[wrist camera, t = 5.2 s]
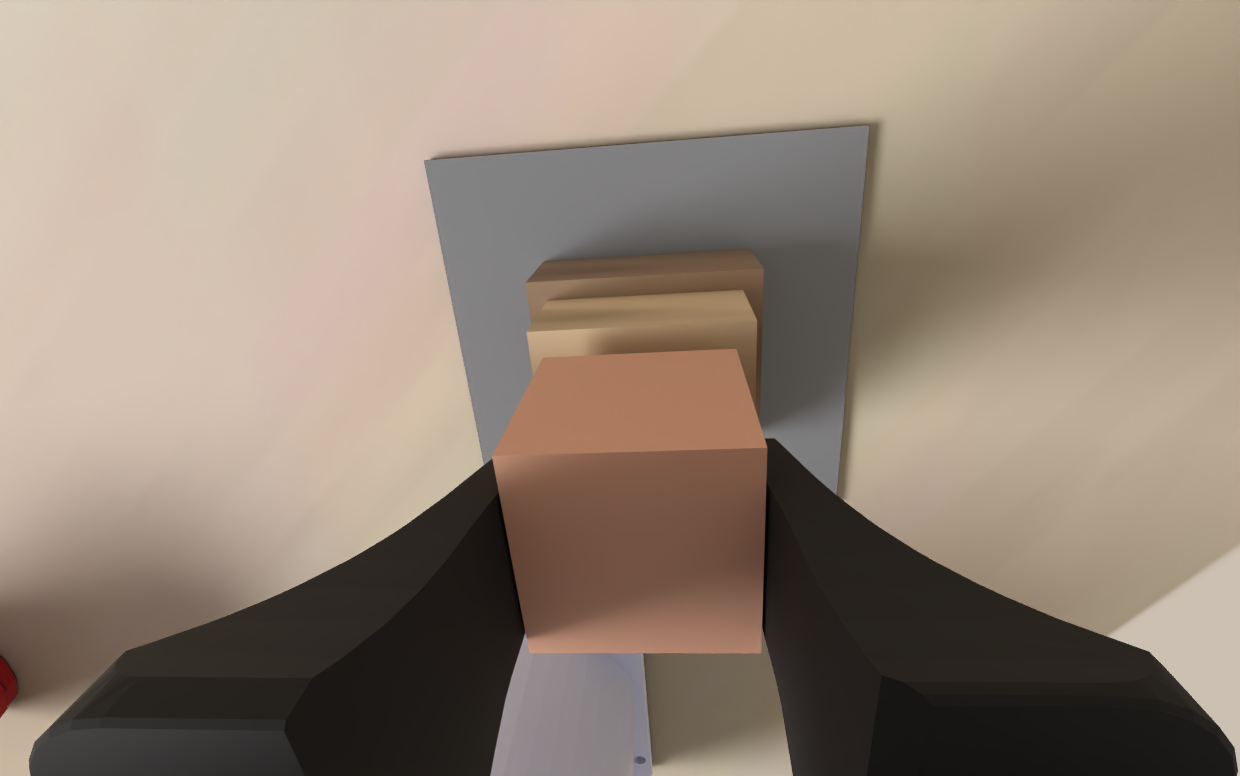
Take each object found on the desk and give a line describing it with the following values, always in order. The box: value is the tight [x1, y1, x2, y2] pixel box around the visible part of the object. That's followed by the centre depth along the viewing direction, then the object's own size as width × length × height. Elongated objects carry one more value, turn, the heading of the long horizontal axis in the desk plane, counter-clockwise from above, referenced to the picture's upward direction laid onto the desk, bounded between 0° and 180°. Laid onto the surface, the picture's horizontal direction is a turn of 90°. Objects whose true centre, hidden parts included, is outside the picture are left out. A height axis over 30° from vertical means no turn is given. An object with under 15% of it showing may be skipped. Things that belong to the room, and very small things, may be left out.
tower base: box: [525, 249, 764, 423], centre depth 17 cm, size 6×6×2 cm
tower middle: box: [526, 290, 757, 407], centre depth 15 cm, size 5×5×2 cm
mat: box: [424, 125, 869, 495], centre depth 18 cm, size 12×12×1 cm
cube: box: [492, 349, 767, 654], centre depth 11 cm, size 4×4×4 cm
